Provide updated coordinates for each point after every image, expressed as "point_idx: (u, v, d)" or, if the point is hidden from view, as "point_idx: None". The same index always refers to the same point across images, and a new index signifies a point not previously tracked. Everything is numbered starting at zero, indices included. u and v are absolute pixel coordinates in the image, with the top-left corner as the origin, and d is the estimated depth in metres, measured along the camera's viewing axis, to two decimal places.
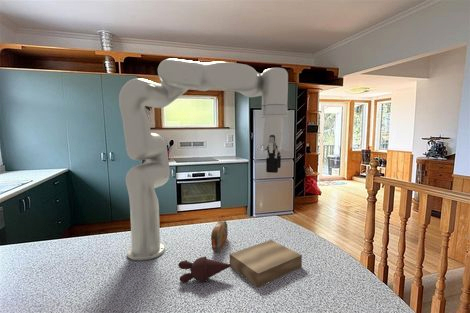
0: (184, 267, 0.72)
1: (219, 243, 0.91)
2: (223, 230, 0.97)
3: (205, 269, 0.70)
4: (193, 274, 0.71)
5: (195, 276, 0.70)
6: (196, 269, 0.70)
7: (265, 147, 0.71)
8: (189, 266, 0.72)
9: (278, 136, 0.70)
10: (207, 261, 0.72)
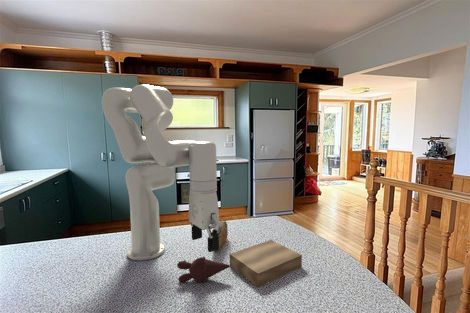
0: (183, 267, 0.72)
1: (219, 243, 0.91)
2: (223, 230, 0.97)
3: (204, 269, 0.70)
4: (192, 274, 0.71)
5: (194, 276, 0.70)
6: (195, 269, 0.70)
7: (206, 227, 0.67)
8: (188, 266, 0.72)
9: (218, 213, 0.68)
10: (206, 261, 0.72)
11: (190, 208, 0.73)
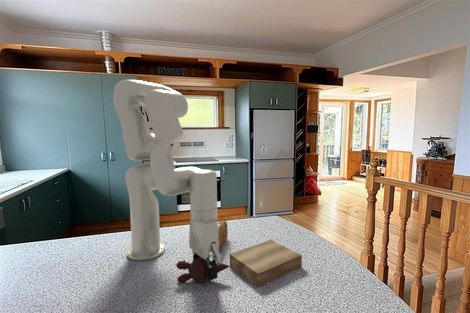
0: (182, 267, 0.72)
1: (219, 243, 0.91)
2: (223, 230, 0.97)
3: (203, 270, 0.69)
4: (191, 274, 0.70)
5: (193, 276, 0.70)
6: (194, 269, 0.70)
7: (207, 256, 0.67)
8: (187, 266, 0.72)
9: (218, 241, 0.69)
10: (205, 261, 0.72)
11: (190, 234, 0.73)
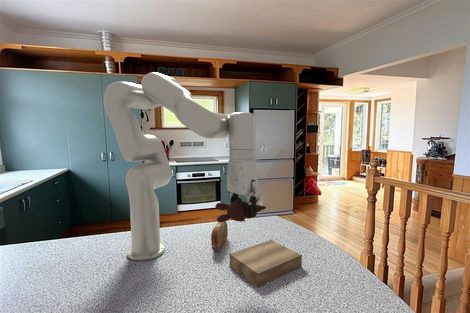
0: (221, 207, 0.74)
1: (219, 243, 0.91)
2: (223, 230, 0.97)
3: (242, 208, 0.72)
4: (230, 213, 0.73)
5: (232, 215, 0.73)
6: (233, 208, 0.73)
7: (247, 192, 0.70)
8: (226, 207, 0.74)
9: (257, 180, 0.72)
10: (243, 202, 0.74)
11: (228, 177, 0.76)
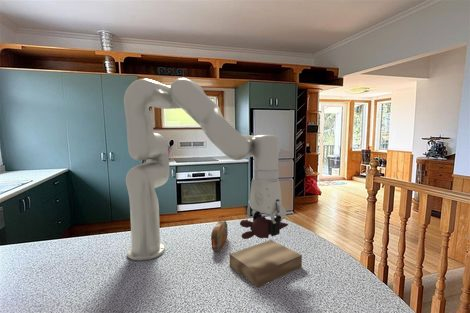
0: (246, 225, 0.78)
1: (219, 243, 0.91)
2: (223, 230, 0.97)
3: (267, 226, 0.75)
4: (255, 231, 0.76)
5: (257, 232, 0.76)
6: (258, 226, 0.76)
7: (272, 212, 0.73)
8: (250, 224, 0.78)
9: None
10: (267, 220, 0.78)
11: (252, 196, 0.79)
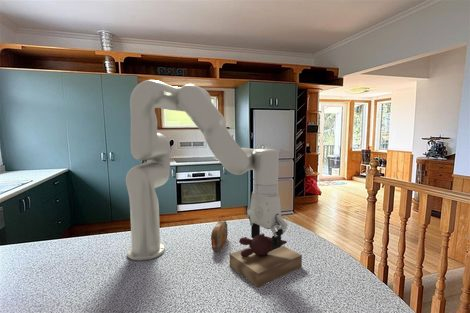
0: (245, 243, 0.78)
1: (219, 243, 0.91)
2: (223, 230, 0.97)
3: (266, 244, 0.76)
4: (254, 249, 0.77)
5: (256, 251, 0.77)
6: (257, 244, 0.77)
7: (272, 226, 0.74)
8: (249, 242, 0.78)
9: (280, 213, 0.76)
10: (266, 237, 0.79)
11: (252, 209, 0.80)
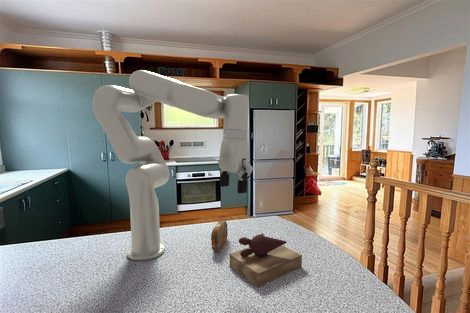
0: (244, 243, 0.78)
1: (219, 243, 0.91)
2: (223, 230, 0.97)
3: (265, 244, 0.76)
4: (254, 249, 0.77)
5: (256, 251, 0.77)
6: (257, 244, 0.77)
7: (238, 170, 0.74)
8: (249, 242, 0.78)
9: None
10: (265, 237, 0.79)
11: (221, 156, 0.80)
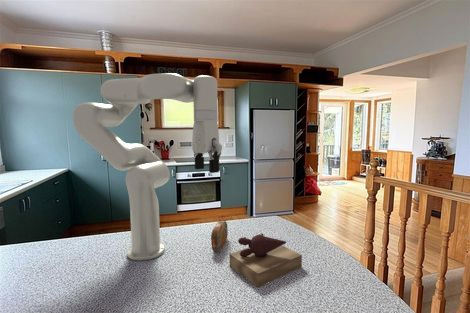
0: (244, 243, 0.78)
1: (219, 243, 0.91)
2: (223, 230, 0.97)
3: (265, 244, 0.76)
4: (253, 249, 0.77)
5: (255, 251, 0.77)
6: (256, 244, 0.77)
7: (208, 149, 0.76)
8: (248, 242, 0.78)
9: (218, 139, 0.77)
10: (265, 238, 0.79)
11: (193, 138, 0.82)
